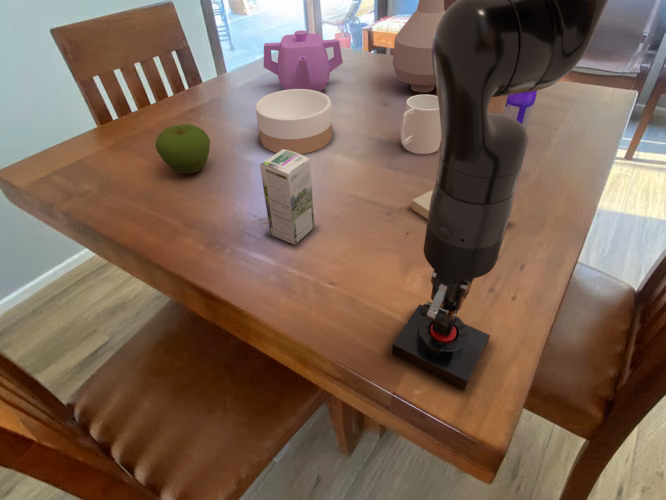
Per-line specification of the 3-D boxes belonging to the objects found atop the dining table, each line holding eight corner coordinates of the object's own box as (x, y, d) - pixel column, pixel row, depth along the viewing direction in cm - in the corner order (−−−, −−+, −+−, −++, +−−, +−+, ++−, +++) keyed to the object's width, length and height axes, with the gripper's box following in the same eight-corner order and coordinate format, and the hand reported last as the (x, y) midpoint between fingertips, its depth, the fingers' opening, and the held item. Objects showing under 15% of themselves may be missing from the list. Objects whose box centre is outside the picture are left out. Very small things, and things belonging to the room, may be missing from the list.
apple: (154, 177, 92) (139, 134, 85) (186, 154, 99) (174, 112, 92) (195, 187, 88) (183, 143, 82) (225, 163, 95) (215, 120, 89)
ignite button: (458, 335, 56) (460, 327, 55) (448, 353, 54) (450, 344, 53) (435, 325, 57) (436, 316, 56) (424, 341, 55) (426, 333, 54)
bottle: (501, 130, 102) (520, 53, 91) (526, 135, 100) (549, 57, 89) (493, 144, 98) (512, 64, 86) (519, 149, 95) (542, 68, 84)
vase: (444, 104, 115) (463, -29, 95) (382, 94, 121) (387, -32, 101) (460, 81, 126) (480, -42, 106) (402, 73, 132) (411, -44, 112)
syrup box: (290, 218, 80) (281, 147, 70) (316, 229, 77) (310, 156, 67) (269, 235, 76) (257, 162, 66) (296, 246, 74) (287, 173, 64)
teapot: (303, 71, 137) (299, 18, 127) (349, 83, 128) (348, 27, 118) (259, 91, 126) (251, 35, 116) (306, 105, 117) (301, 46, 107)
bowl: (245, 144, 101) (239, 110, 96) (287, 116, 112) (284, 84, 107) (307, 161, 95) (304, 126, 89) (345, 129, 106) (344, 96, 100)
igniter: (486, 345, 57) (493, 326, 55) (464, 391, 52) (470, 372, 50) (417, 314, 62) (420, 295, 59) (391, 354, 57) (393, 335, 54)
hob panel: (515, 228, 75) (518, 218, 74) (477, 252, 71) (479, 242, 70) (448, 189, 85) (449, 180, 83) (411, 208, 81) (412, 199, 79)
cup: (384, 151, 97) (386, 108, 90) (418, 133, 103) (422, 91, 96) (413, 164, 92) (418, 119, 86) (446, 144, 98) (453, 101, 92)
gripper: (480, 275, 37) (450, 384, 49) (524, 199, 45) (489, 307, 57) (402, 245, 40) (391, 353, 52) (455, 179, 49) (436, 286, 60)
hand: (442, 329), depth 54 cm, fingers closed
